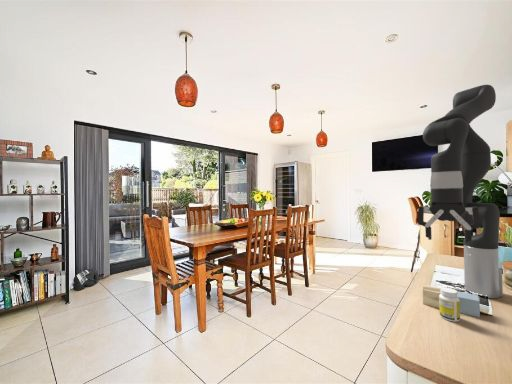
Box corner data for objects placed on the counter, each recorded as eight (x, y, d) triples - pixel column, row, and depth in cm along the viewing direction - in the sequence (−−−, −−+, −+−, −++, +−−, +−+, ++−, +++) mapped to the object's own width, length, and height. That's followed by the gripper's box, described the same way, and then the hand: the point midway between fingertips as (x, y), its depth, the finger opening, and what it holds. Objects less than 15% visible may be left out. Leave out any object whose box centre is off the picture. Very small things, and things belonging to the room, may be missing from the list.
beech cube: (424, 298, 83) (424, 284, 83) (442, 302, 79) (442, 288, 79) (423, 304, 79) (422, 289, 79) (441, 308, 76) (441, 293, 76)
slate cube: (457, 306, 77) (457, 291, 77) (478, 311, 74) (478, 295, 74) (457, 312, 73) (457, 296, 73) (480, 317, 70) (479, 301, 70)
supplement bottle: (452, 313, 72) (451, 286, 72) (464, 322, 68) (463, 293, 68) (435, 313, 73) (435, 286, 73) (446, 322, 68) (446, 293, 68)
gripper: (477, 186, 68) (478, 241, 68) (418, 187, 78) (420, 236, 78) (480, 186, 63) (481, 246, 63) (416, 188, 72) (417, 240, 72)
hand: (447, 240), depth 70 cm, fingers open, 8 cm apart
